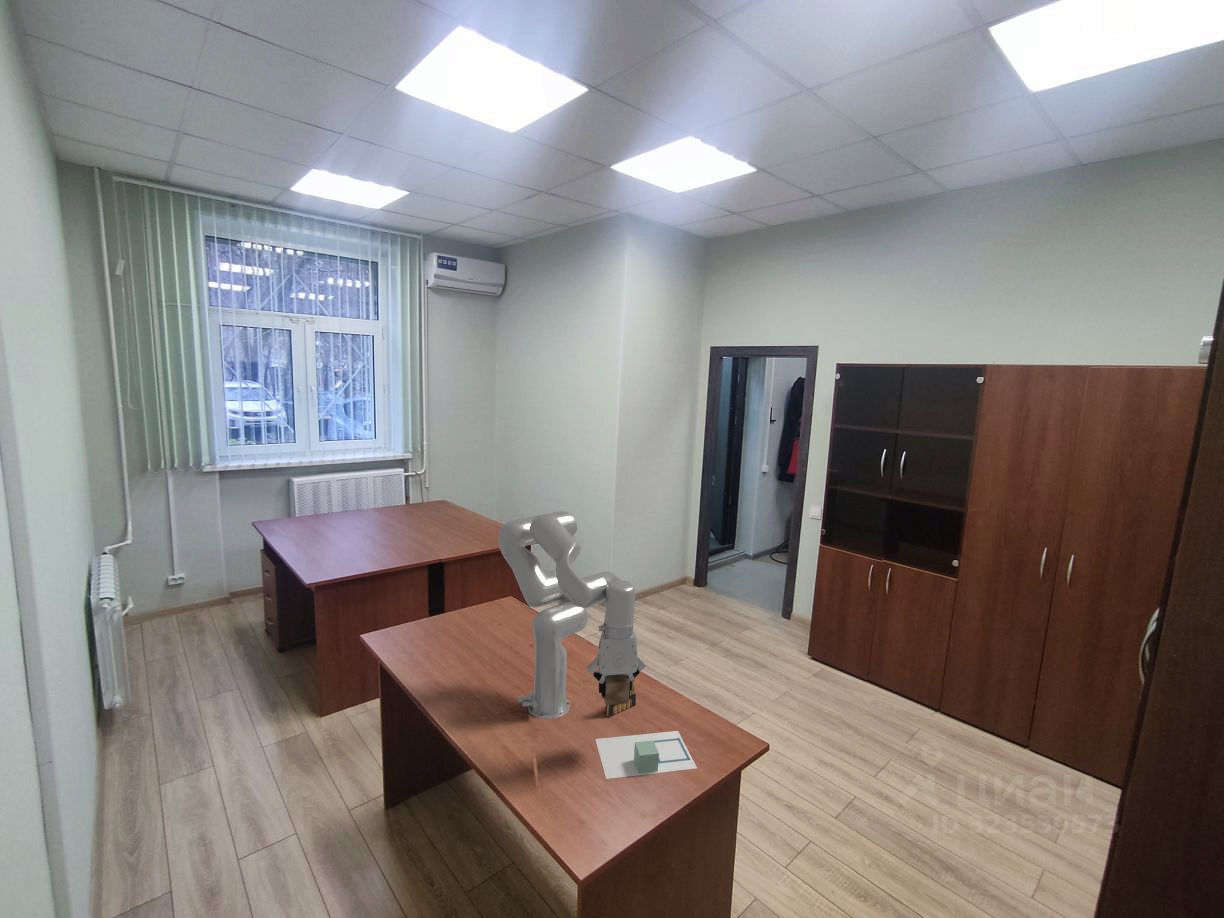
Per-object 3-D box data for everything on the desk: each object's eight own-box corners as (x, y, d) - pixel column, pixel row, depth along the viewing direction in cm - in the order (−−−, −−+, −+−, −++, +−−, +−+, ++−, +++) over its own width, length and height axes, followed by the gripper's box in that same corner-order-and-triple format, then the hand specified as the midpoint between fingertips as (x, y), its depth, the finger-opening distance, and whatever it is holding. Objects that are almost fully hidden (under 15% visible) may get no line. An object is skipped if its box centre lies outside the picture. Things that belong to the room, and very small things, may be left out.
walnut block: (605, 705, 136) (607, 683, 135) (601, 691, 141) (602, 670, 141) (628, 703, 137) (629, 681, 136) (623, 690, 143) (624, 669, 142)
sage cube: (638, 773, 133) (639, 755, 133) (633, 759, 138) (634, 742, 137) (657, 771, 134) (658, 753, 134) (652, 757, 139) (653, 740, 138)
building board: (606, 782, 131) (606, 778, 131) (595, 742, 146) (595, 738, 145) (697, 771, 136) (697, 767, 136) (677, 734, 151) (677, 730, 151)
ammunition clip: (608, 720, 155) (610, 682, 154) (604, 717, 157) (606, 680, 155) (635, 708, 162) (637, 671, 160) (631, 705, 163) (633, 669, 162)
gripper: (588, 637, 131) (584, 704, 134) (654, 634, 135) (650, 699, 137) (583, 624, 138) (580, 688, 141) (646, 621, 142) (642, 683, 145)
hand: (615, 693), depth 139 cm, fingers closed on walnut block, 6 cm apart
